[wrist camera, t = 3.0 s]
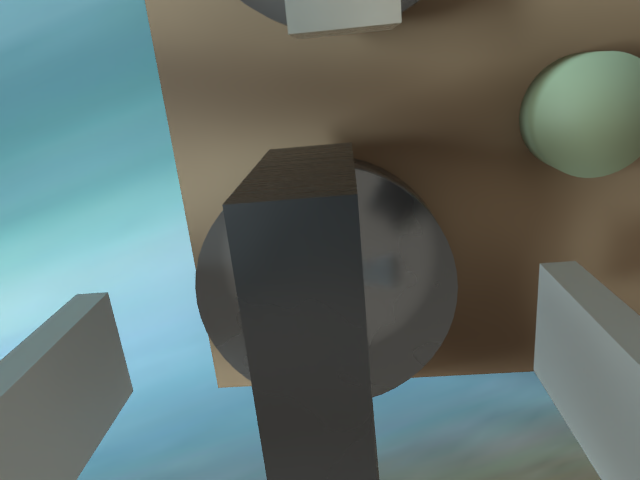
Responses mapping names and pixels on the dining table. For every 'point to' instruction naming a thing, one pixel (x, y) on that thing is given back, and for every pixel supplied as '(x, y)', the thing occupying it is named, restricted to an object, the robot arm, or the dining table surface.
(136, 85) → the dining table surface
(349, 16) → the knob
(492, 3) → the base
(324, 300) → the knob
